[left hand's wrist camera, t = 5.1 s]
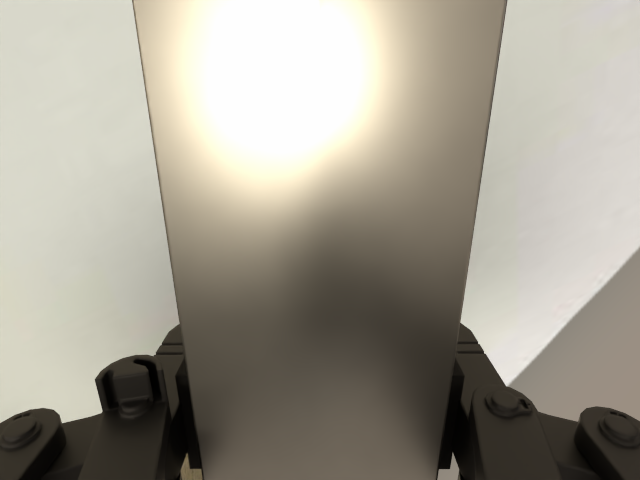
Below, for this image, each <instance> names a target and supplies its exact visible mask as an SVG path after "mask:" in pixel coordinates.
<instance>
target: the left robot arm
mask: <svg viewBox="0 0 640 480" xmlns="http://www.w3.org/2000/svg"><path fill="white" fill-rule="evenodd" d="M95 382H96V386H97V390H98V394H99V398H100V402H101V406H102V410H103V412H102V413H101V414H98V415H95V416H91V417H88V418H83V419H79V420H75V421H71V422H66V423H62V422H61V419H60V415H59V414H58V413H56V412H55V411H54V410H51V409H46V408H40V409H33V410H28V411H25V412H22V413H20V414H17V415H14V416H12V417H11V418H9V419H7V420H5V421H3V422H2V423H0V480H182V475H181V468H182V465H183V463H184V460H185V457H186V455H187V454H188V460H189V467H190V469H201V465H200V458H199V451H198V444H197V438H196V431H195V424H194V417H193V410H192V404H191V397H190V390H189V383H188V376H187V370H186V363H185V356H184V349H183V342H182V336H181V329H180V324H179V325H177V326H176V327H175V328H173V329H172V330H171V331H170V332H169V333H168V334H167V336H166V338H165V339H164V341H163V342H162V345H161V346H160V347H159V349H158V350H157V352H156V355H154V357H153V356H150V355H134V356H130V357H126V358H122V359H120V360H118V361H116V362H114V363H111V364H110V365H109V366H107V367H106V368H105V369H103V370H102V371H101V372H100V373H99V375H98V376H97V377H96V379H95ZM452 453H454V456H455V459H456V462H457V464H458V467H459V475H458V480H640V421H638V420H636V419H634V418H633V417H631V416H629V415H627V414H625V413H623V412H620V411H617V410H614V409H611V408H605V407H591V408H586V409H585V410H584V411H583V412H582V413H581V414H580V418H579V421H578V422H576V421H572V420H567V419H563V418H559V417H555V416H551V415H547V414H544V413H541V412H538V411H537V409H536V408H535V406H534V405H533V403H532V401H530V400H529V399H528V398H527V397H526V396H525V395H523V394H522V393H520V392H518V391H516V390H514V389H512V388H510V387H506V386H505V384H504V382H503V381H502V379H501V378H500V376H499V374H498V373H497V371H496V370H495V368H494V367H493V365H492V363H491V362H490V360H489V359H488V357H487V355H486V354H484V351H483V349H482V348H481V346H480V344H478V341H477V340H476V338H475V336H474V335H473V333H472V332H471V330H469V329H468V328H467V327H465V326H464V325H463V324H461V323H460V327H459V334H458V341H457V347H456V354H455V361H454V368H453V375H452V382H451V388H450V395H449V402H448V409H447V416H446V423H445V429H444V436H443V443H442V450H441V457H440V464H439V469H450V465H451V459H452Z"/></svg>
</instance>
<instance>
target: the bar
mask: <svg viewBox="0 0 640 480" xmlns="http://www.w3.org/2000/svg"><path fill="white" fill-rule="evenodd" d="M132 3H133V9H134V16H135V23H136V30H137V37H138V43H139V50H140V57H141V64H142V71H143V77H144V84H145V91H146V98H147V105H148V111H149V118H150V125H151V132H152V138H153V145H154V152H155V159H156V166H157V172H158V179H159V186H160V193H161V200H162V206H163V213H164V220H165V227H166V234H167V240H168V247H169V254H170V261H171V268H172V274H173V281H174V288H175V295H176V302H177V308H178V315H179V322H180V329H181V336H182V342H183V349H184V356H185V363H186V370H187V376H188V383H189V390H190V397H191V404H192V410H193V417H194V424H195V431H196V438H197V444H198V451H199V458H200V465H201V472H202V478H203V480H437V477H438V470H439V464H440V457H441V450H442V443H443V436H444V429H445V423H446V416H447V409H448V402H449V395H450V388H451V382H452V375H453V368H454V361H455V354H456V347H457V341H458V334H459V327H460V320H461V313H462V306H463V300H464V293H465V286H466V279H467V272H468V265H469V259H470V252H471V245H472V238H473V231H474V224H475V218H476V211H477V204H478V197H479V190H480V183H481V177H482V170H483V163H484V156H485V149H486V142H487V136H488V129H489V122H490V115H491V108H492V101H493V95H494V88H495V81H496V74H497V67H498V60H499V54H500V47H501V40H502V33H503V26H504V19H505V13H506V6H507V0H132Z"/></svg>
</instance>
